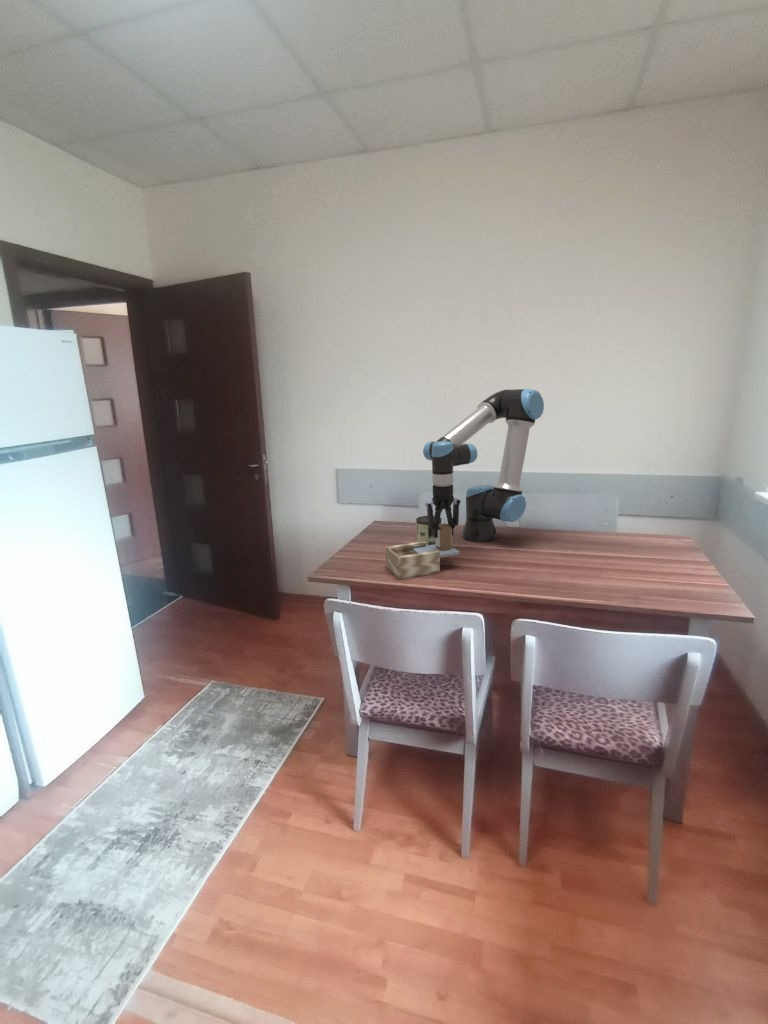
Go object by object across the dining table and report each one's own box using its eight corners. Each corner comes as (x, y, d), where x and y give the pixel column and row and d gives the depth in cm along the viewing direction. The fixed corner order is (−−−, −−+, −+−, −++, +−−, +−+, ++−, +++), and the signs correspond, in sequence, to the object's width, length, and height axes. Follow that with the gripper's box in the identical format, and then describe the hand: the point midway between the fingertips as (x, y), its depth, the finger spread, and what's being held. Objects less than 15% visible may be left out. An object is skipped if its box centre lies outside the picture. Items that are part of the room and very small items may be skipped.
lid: (445, 545, 190) (445, 520, 187) (459, 554, 179) (459, 528, 176) (411, 550, 185) (411, 525, 183) (423, 559, 175) (423, 533, 172)
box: (424, 560, 189) (424, 541, 187) (439, 572, 176) (439, 551, 174) (386, 566, 184) (385, 546, 182) (399, 579, 172) (398, 558, 170)
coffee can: (442, 547, 203) (442, 515, 200) (440, 556, 194) (440, 522, 190) (418, 547, 205) (417, 515, 202) (415, 555, 196) (414, 521, 192)
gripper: (459, 480, 183) (459, 538, 189) (417, 484, 177) (418, 545, 183) (468, 483, 176) (468, 544, 182) (425, 488, 171) (426, 551, 177)
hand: (443, 544), depth 183 cm, fingers closed on lid, 4 cm apart
